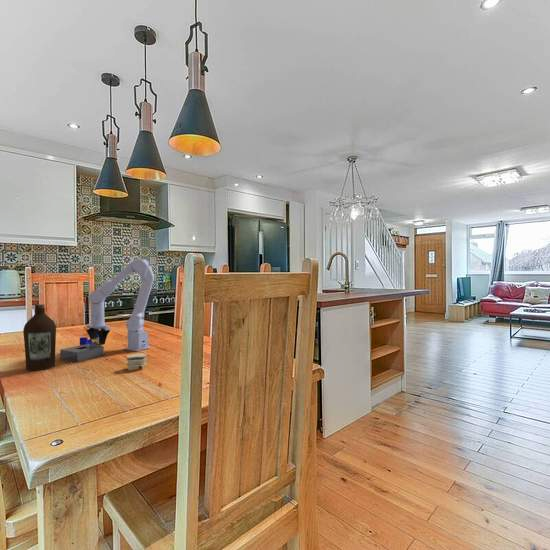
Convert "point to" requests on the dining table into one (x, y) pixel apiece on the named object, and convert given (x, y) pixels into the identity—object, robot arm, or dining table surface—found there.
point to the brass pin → (95, 341)
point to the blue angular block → (86, 340)
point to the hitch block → (81, 352)
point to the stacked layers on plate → (136, 361)
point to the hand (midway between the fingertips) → (98, 343)
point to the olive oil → (39, 340)
